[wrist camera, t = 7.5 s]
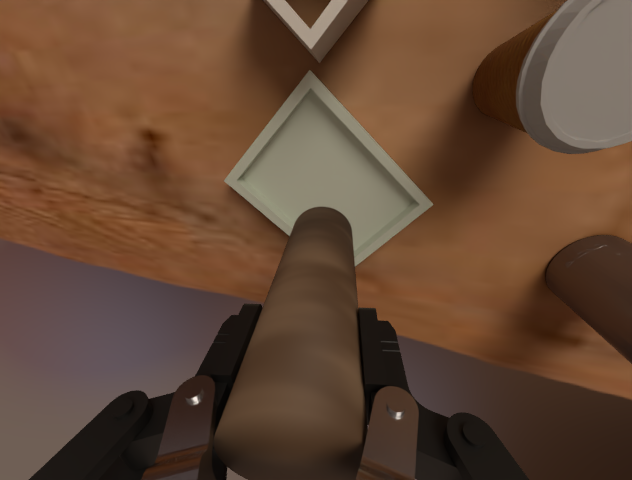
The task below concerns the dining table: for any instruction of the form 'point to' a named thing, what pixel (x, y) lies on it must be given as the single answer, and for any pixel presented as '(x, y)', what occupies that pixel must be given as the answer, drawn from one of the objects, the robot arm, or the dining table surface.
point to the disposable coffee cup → (565, 78)
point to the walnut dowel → (302, 366)
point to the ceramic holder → (318, 23)
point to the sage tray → (326, 170)
